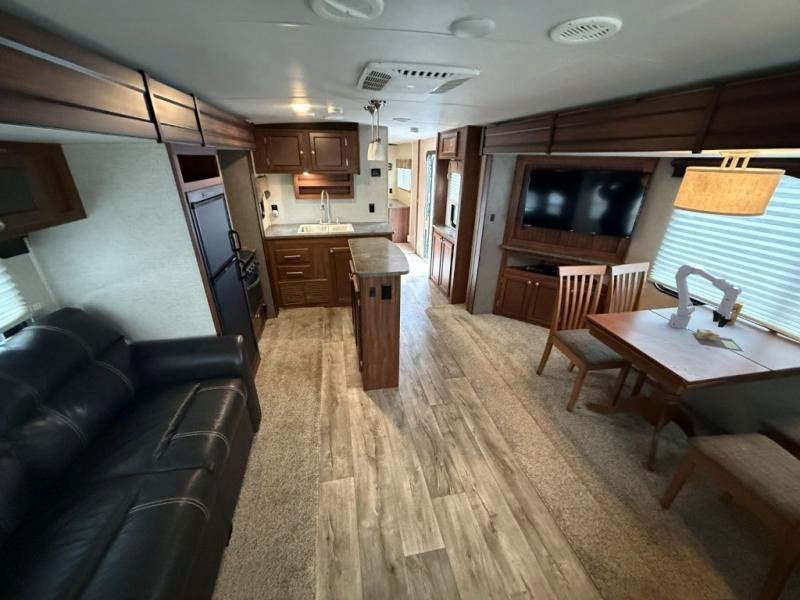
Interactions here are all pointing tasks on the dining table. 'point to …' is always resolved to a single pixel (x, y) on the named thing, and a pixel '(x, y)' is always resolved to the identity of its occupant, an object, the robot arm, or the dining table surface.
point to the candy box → (735, 312)
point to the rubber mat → (719, 343)
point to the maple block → (707, 334)
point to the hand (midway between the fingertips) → (717, 324)
